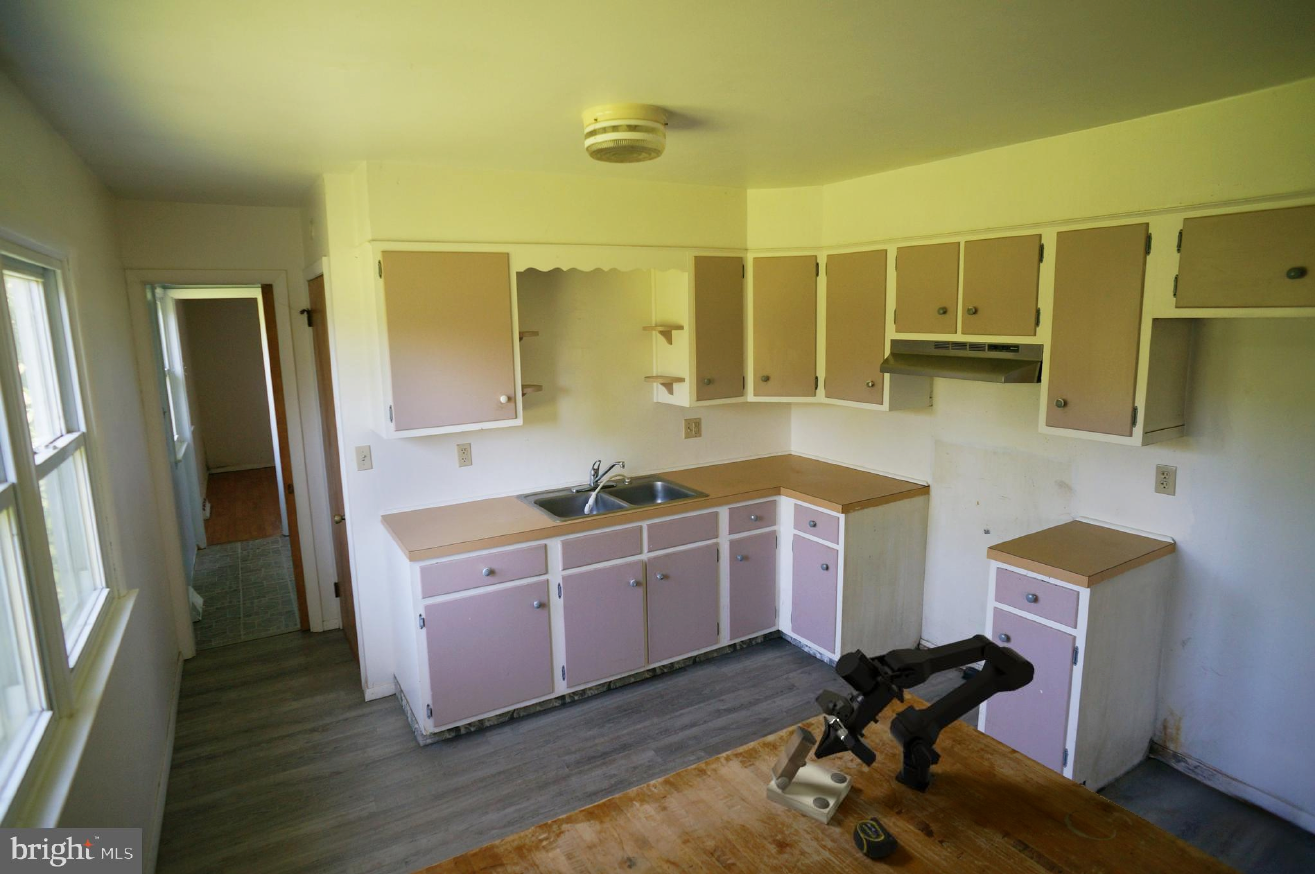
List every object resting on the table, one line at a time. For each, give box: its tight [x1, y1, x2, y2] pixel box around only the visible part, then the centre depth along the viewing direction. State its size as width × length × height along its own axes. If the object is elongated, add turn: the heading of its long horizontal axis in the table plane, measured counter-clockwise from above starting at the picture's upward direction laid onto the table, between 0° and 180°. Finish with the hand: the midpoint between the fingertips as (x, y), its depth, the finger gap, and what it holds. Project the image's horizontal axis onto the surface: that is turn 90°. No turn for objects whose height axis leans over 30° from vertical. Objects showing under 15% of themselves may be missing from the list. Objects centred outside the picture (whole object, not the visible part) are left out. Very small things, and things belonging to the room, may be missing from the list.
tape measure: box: [852, 816, 899, 859], centre depth 130 cm, size 7×7×4 cm
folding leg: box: [770, 725, 818, 790], centre depth 143 cm, size 3×3×12 cm
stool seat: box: [765, 758, 852, 825], centre depth 144 cm, size 13×13×3 cm
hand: (815, 756), depth 143 cm, fingers closed
